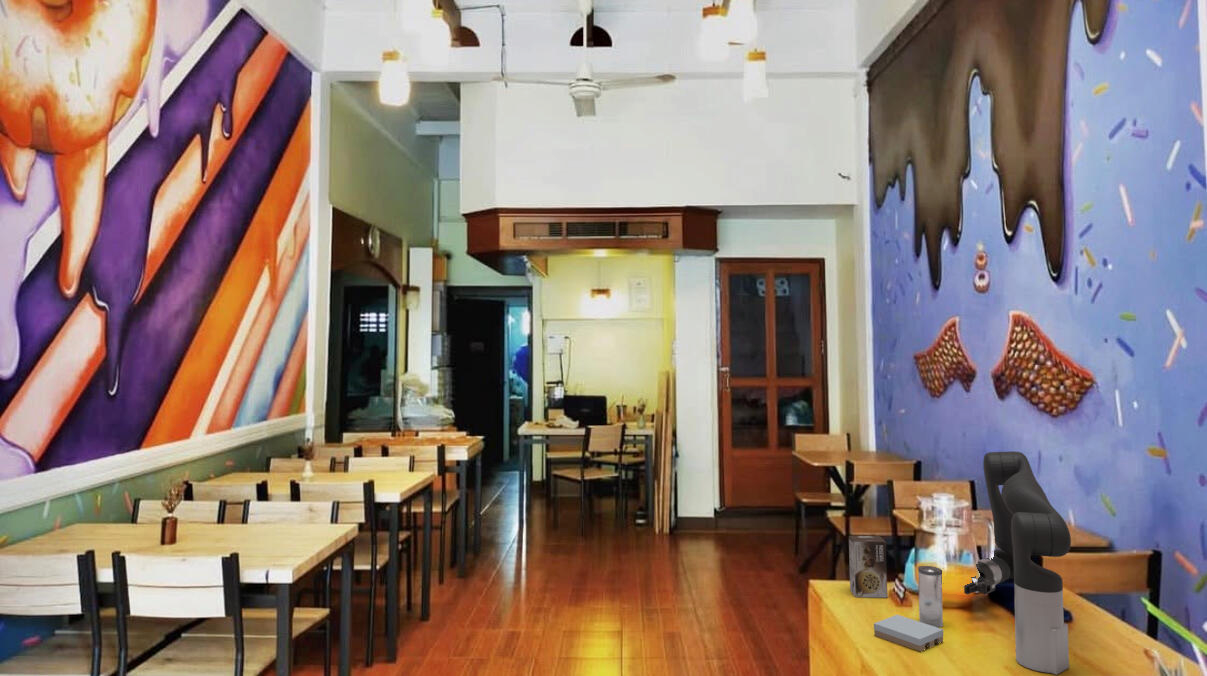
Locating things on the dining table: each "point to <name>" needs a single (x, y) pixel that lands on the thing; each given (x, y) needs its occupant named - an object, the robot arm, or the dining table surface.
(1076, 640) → the dining table surface
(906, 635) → the block
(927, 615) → the canister
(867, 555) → the coffee box
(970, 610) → the dining table surface
